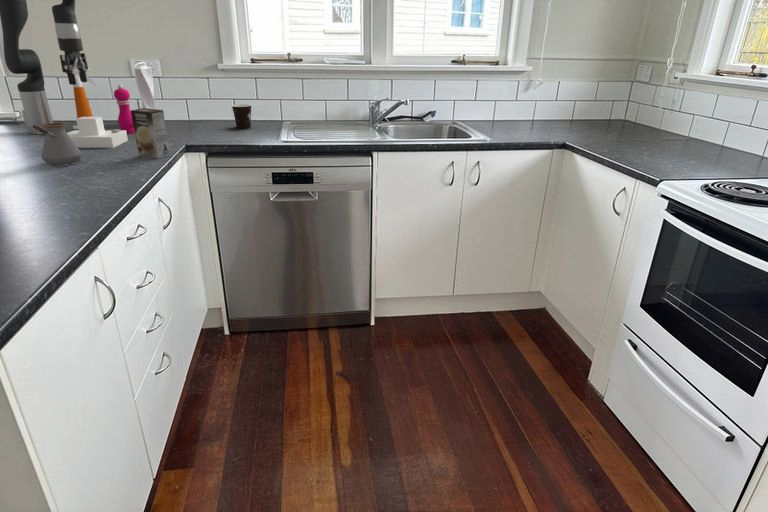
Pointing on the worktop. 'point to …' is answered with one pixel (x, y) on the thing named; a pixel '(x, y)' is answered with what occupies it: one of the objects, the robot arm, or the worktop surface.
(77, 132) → the socket
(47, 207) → the worktop surface
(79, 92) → the spray bottle
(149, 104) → the skyscraper
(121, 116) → the pepper mill
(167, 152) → the coffee box
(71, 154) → the coffee pot
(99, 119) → the plug
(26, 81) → the robot arm
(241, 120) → the coffee mug
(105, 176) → the worktop surface
